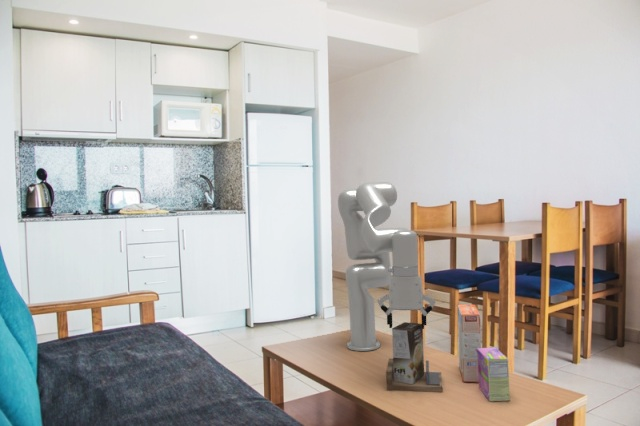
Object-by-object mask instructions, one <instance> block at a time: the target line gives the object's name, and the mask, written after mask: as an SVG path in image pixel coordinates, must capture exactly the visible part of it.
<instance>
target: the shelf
mask: <svg viewBox="0 0 640 426" xmlns="http://www.w3.org/2000/svg"><path fill="white" fill-rule="evenodd" d="M385 377H386V381H385V382H386V391H398V392H426V393H427V392H428V393H430V392H431V393H443V392H444V391H443V377H442V372H440V371H439V380H440V386H433V385H426V371H424V376H422V377H421V378H420V379H419V380H417V381H416V382H415V383H414V384H407V383H402V382H396V381H394V369H393V358H388V362H387V366H386V371H385Z"/></svg>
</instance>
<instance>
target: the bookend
mask: <svg viewBox="0 0 640 426" xmlns="http://www.w3.org/2000/svg"><path fill="white" fill-rule="evenodd" d="M429 364H430V362H429V360H425V372H426V385H433V386H440V380H439V372H440V371H439V372H437V371H430V365H429Z"/></svg>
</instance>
